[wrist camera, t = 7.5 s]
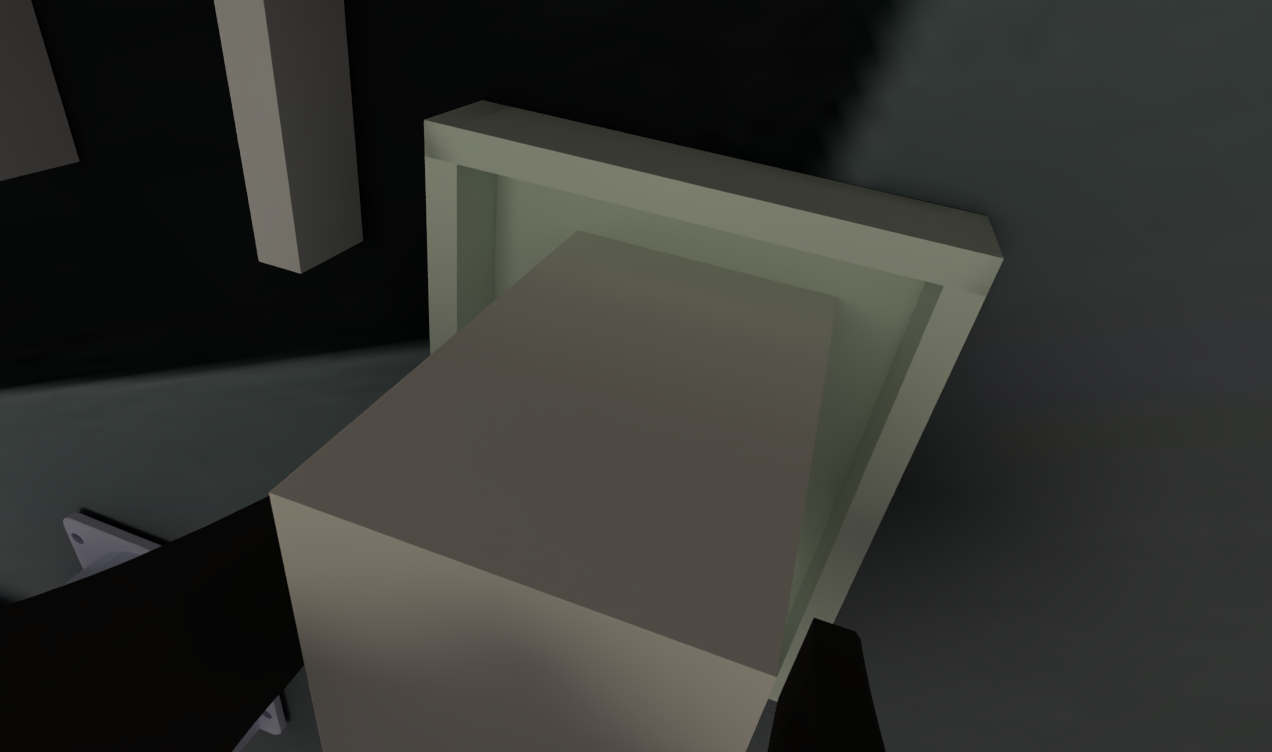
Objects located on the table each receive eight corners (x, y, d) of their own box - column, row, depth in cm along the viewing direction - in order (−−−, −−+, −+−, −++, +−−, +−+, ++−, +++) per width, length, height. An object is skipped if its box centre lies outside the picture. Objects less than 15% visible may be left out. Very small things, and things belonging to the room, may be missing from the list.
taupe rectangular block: (743, 581, 16) (645, 990, 10) (550, 515, 17) (343, 849, 11) (837, 297, 12) (776, 677, 6) (577, 229, 13) (267, 493, 7)
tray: (803, 638, 17) (794, 707, 16) (475, 522, 19) (435, 574, 18) (987, 216, 11) (1004, 258, 10) (482, 100, 13) (424, 119, 11)
